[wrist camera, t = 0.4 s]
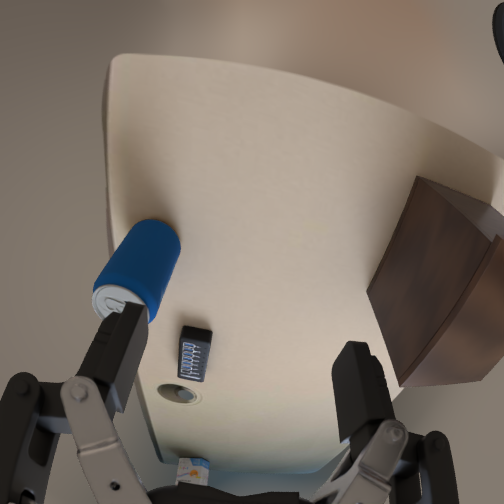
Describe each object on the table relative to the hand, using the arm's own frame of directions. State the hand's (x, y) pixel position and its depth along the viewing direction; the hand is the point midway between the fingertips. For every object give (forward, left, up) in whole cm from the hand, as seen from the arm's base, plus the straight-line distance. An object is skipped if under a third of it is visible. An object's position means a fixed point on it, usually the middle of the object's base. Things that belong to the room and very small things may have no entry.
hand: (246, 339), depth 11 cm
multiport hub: (+30, -4, -22) cm, 37 cm away
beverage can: (+11, -10, -22) cm, 26 cm away
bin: (+5, +24, -22) cm, 33 cm away
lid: (+4, +24, -8) cm, 26 cm away
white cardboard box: (+90, -2, -22) cm, 92 cm away
